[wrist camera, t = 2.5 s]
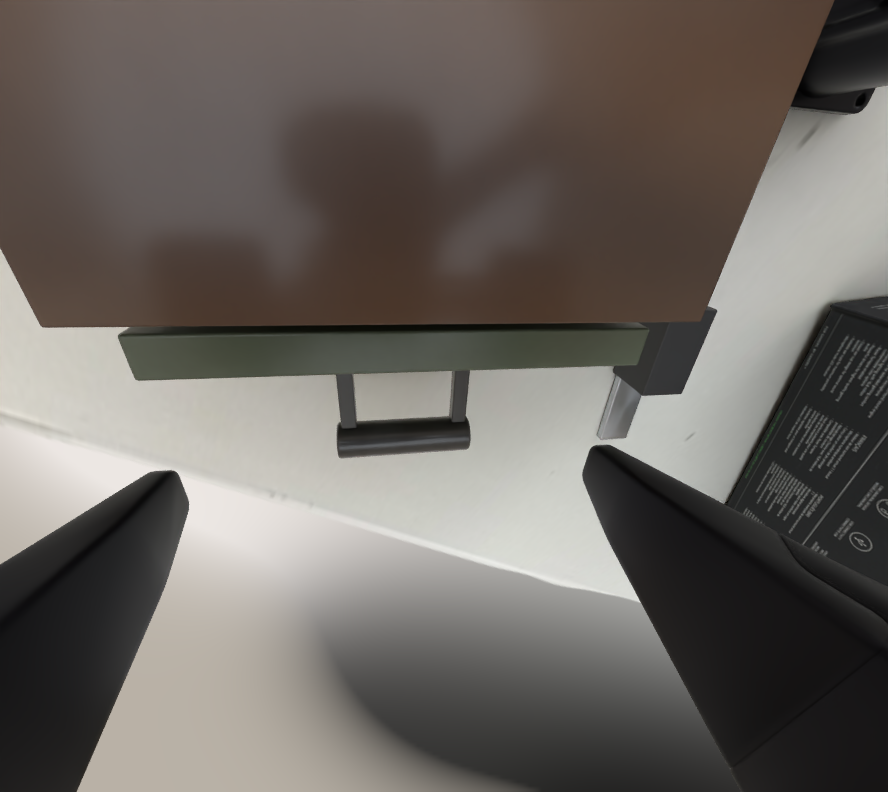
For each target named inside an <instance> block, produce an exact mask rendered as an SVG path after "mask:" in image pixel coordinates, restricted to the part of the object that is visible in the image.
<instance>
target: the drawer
mask: <svg viewBox="0 0 888 792" xmlns="http://www.w3.org/2000/svg"><path fill="white" fill-rule="evenodd" d="M648 333H649V328H647V327H645V326H643V325H642V324H640V323H520V324H403V325H285V326H168V327H130V328H128V329H127V330H125V331H123V332H122V333H120V334H119V335H118V339H119V341H120V344H121V346H122V349H123V351H124V353H125V356H126V358H127V361H128V363H129V366H130V368H131V370H132V373H133V375H134V378H135V379H136V380H138V381H141V380H173V379H205V378H237V377H270V376H302V375H334V374H336V380H337V389H338V399H339V408H340V418H341V422H339V423H338V425H337V450H338V456H339V458H352V457H367V456H381V455H395V454H410V453H424V452H438V451H453V450H466V449H468V448H469V446H470V439H471V434H470V425H469V421H468V418H467V417H466V416H465V415H466V405H467V395H468V384H469V374H470V370H494V369H526V368H559V367H591V366H623V365H637V364H638V362H639V359H640V356H641V353H642V350H643V348H644V345H645V342H646V339H647V336H648ZM430 371H452V384H451V398H450V412H449V416H447V417H428V418H409V419H391V420H372V421H357V412H356V399H355V387H354V374H366V373H398V372H430Z"/></svg>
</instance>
